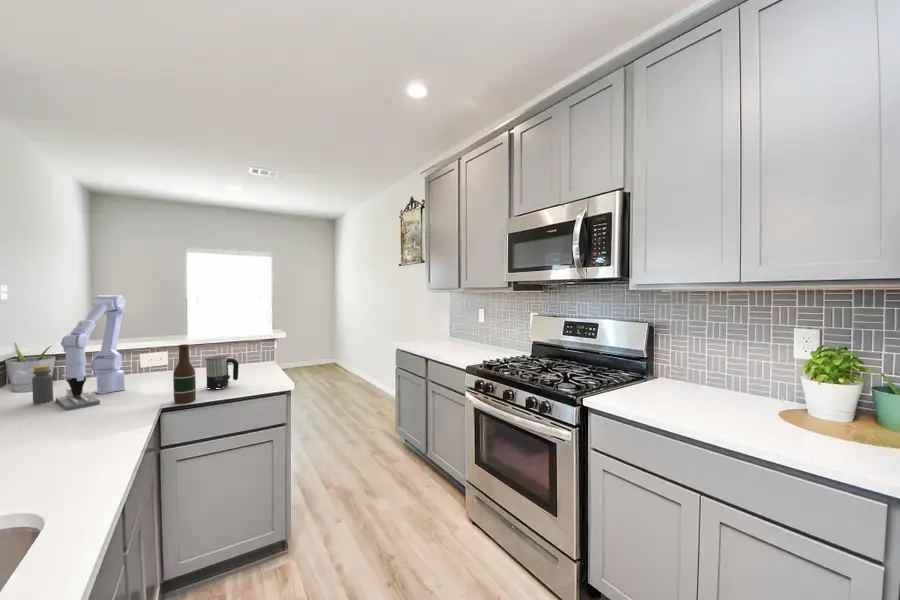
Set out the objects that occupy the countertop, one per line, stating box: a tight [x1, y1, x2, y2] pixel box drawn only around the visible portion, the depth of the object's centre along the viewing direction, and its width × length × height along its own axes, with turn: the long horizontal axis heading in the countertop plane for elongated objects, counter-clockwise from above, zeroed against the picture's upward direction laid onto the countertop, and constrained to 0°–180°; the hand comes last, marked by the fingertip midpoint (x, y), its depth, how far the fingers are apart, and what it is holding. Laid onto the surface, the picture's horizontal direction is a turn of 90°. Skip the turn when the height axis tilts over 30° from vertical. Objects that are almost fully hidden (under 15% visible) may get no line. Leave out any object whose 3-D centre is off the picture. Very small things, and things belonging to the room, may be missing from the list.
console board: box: [55, 392, 101, 411], centre depth 163 cm, size 10×19×2 cm, turn 54°
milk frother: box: [204, 354, 240, 389], centre depth 191 cm, size 14×16×15 cm
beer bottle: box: [172, 344, 197, 405], centre depth 165 cm, size 8×8×24 cm
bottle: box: [31, 364, 54, 405], centre depth 163 cm, size 6×6×15 cm
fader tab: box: [65, 387, 84, 397], centre depth 165 cm, size 4×4×4 cm
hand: (76, 395), depth 163 cm, fingers closed
